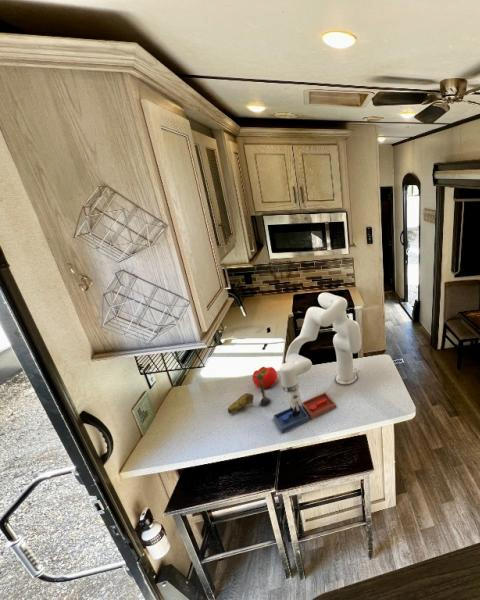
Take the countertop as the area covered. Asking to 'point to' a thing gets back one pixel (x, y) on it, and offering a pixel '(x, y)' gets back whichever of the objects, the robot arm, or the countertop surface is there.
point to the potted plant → (262, 390)
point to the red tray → (321, 409)
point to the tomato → (266, 377)
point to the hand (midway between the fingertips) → (295, 414)
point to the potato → (241, 403)
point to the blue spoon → (288, 416)
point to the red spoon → (318, 404)
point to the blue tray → (290, 419)
